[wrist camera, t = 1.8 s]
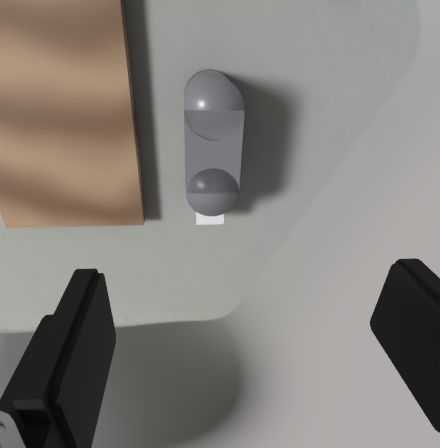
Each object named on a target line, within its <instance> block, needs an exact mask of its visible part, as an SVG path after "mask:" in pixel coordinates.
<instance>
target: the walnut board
mask: <svg viewBox="0 0 440 448" xmlns="http://www.w3.org/2000/svg"><path fill="white" fill-rule="evenodd" d="M0 212H1V215H2V218H3V220H4V223H5V226H6V228H24V227H71V226H119V225H144V222H145V217H146V216H145V206H144V196H143V186H142V177H141V167H140V157H139V147H138V137H137V127H136V117H135V108H134V98H133V88H132V78H131V68H130V58H129V48H128V39H127V29H126V19H125V9H124V0H0Z"/></svg>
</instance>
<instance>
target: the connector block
mask: <svg viewBox="0 0 440 448" xmlns="http://www.w3.org/2000/svg"><path fill="white" fill-rule="evenodd" d="M244 113H245V105H244V100H243V97H242V95H241V93H240V91H239V90H238V88H237V87H236V86H235V85H234V84H233V83H232V82H231V81H230V80H229V79H228V78H227V77H226V76H225V75H223V74H222V73H220V72H218V71H216V70H210V69H208V70H202V71H199V72H197V73H196V74H194V75H193V76H192V77H191V78H190V80H189V81H188V83H187V85H186V88H185V93H184V124H185V165H186V197H187V200H188V203H189V205H190V206H191V207H192V209H194V210H195V211H196V225H200V224H224V213H226V212H228V211H229V210H230V209H232V208H233V206H234V205H235V204H236V202H237V200H238V196H239V185H240V171H241V156H242V142H243V127H244Z"/></svg>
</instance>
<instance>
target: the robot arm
mask: <svg viewBox="0 0 440 448" xmlns="http://www.w3.org/2000/svg"><path fill="white" fill-rule="evenodd" d="M370 327H371V330H372V332H373V333H374V335H375V336H376V338H377V340H378V341H379V343H380V344H381V346H382V347H383V349H384V350H385V352H386V354H387V355H388V357H389V358H390V360H391V361H392V363H393V364H394V366H395V367H396V369H397V371H398V372H399V374H400V376H401V377H402V379H403V380H404V382H405V383H406V385H407V386H408V388H409V390H410V391H411V393H412V394H413V396H414V397H415V399H416V401H417V402H418V404H419V405H420V407H421V408H422V410H423V412H424V413H425V415H426V416H427V418H428V419H429V421H430V423H431V424H432V426H433V427H434V428H435V430H437V431H438V432H440V278H439V277H438V276H437V275H436V274H434V273H433V272H432V271H431V270H430V269H429V268H428V267H427V266H426V265H425V264H424V263H423V262H422V261H420V260H419V259H399V260H397V261H396V263H395V264H393V265H392V266H391V268H390V270H389V273H388V276H387V278H386V281H385V283H384V286H383V289H382V291H381V294H380V297H379V299H378V302H377V304H376V307H375V310H374V312H373V315H372V317H371V320H370ZM115 343H116V333H115V327H114V322H113V317H112V312H111V307H110V302H109V297H108V292H107V287H106V281H105V277H104V274H103V273H98V271H97V269H77V270H75V272H74V273H73V275H72V278H71V280H70V282H69V284H68V286H67V288H66V290H65V292H64V294H63V296H62V298H61V300H60V302H59V304H58V306H57V309H56V311H55V313H54V315H46V316H45V317H43V319H42V320H41V322H40V324H39V326H38V327H37V329H36V331H35V333H34V335H33V337H32V339H31V341H30V343H29V345H28V347H27V349H26V351H25V353H24V355H23V356H22V359H21V360H20V363H19V364H18V366H17V368H16V370H15V372H14V374H13V376H12V378H11V380H10V382H9V383H8V385H7V387H6V389H5V391H4V393H3V395H2V397H1V399H0V448H91V446H92V442H93V437H94V434H95V429H96V425H97V421H98V416H99V412H100V408H101V403H102V399H103V395H104V391H105V386H106V382H107V378H108V374H109V369H110V365H111V360H112V356H113V351H114V348H115Z"/></svg>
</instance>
